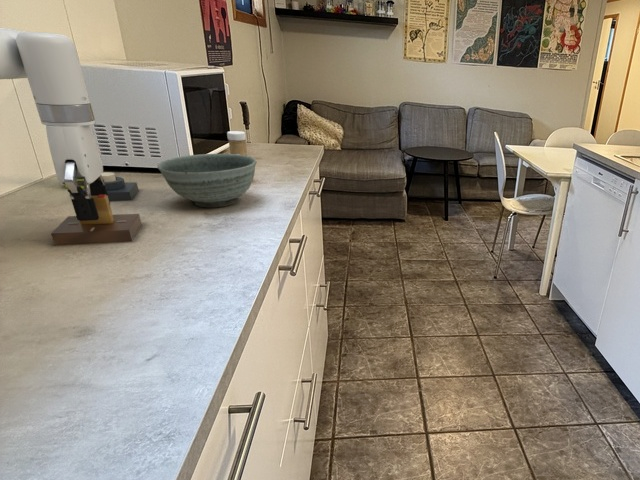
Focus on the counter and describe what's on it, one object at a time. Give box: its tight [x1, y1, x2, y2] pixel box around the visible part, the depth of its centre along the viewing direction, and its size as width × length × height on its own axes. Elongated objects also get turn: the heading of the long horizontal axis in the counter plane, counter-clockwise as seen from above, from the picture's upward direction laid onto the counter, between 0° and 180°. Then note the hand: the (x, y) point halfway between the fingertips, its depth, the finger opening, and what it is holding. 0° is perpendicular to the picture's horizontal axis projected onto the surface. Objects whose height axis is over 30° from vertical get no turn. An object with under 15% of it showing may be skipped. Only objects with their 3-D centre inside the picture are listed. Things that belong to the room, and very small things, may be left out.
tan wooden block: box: [80, 194, 114, 225], centre depth 89 cm, size 5×2×5 cm, turn 111°
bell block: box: [83, 176, 140, 202], centre depth 112 cm, size 10×9×4 cm
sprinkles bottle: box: [226, 130, 248, 156], centre depth 129 cm, size 5×5×14 cm
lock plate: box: [50, 213, 143, 247], centre depth 91 cm, size 12×10×3 cm
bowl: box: [157, 153, 257, 208], centre depth 112 cm, size 21×21×10 cm
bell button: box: [101, 171, 116, 182], centre depth 111 cm, size 4×4×2 cm
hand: (95, 212), depth 89 cm, fingers open, 8 cm apart
